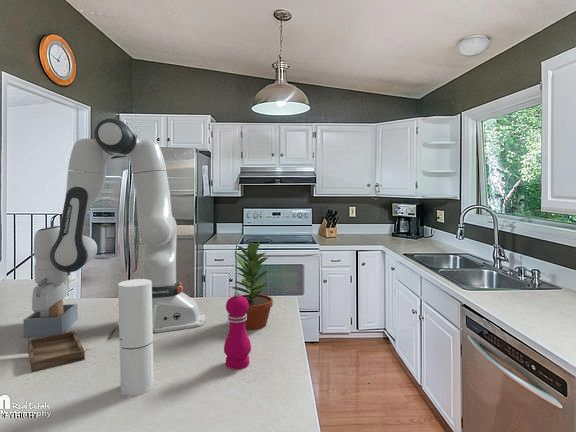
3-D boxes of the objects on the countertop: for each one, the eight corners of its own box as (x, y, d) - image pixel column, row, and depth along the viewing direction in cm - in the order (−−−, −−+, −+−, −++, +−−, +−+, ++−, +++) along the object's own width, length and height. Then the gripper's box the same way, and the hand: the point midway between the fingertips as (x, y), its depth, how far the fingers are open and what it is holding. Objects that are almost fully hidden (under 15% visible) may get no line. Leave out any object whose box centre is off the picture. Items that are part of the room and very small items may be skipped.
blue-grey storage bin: (78, 321, 130) (77, 303, 130) (62, 337, 116) (61, 317, 116) (44, 324, 128) (43, 305, 128) (24, 340, 114) (23, 319, 113)
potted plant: (262, 314, 138) (262, 235, 136) (279, 328, 125) (279, 240, 123) (223, 320, 132) (223, 237, 130) (237, 335, 118) (237, 243, 116)
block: (64, 324, 125) (63, 301, 124) (58, 329, 120) (57, 305, 120) (47, 325, 124) (46, 302, 123) (41, 330, 119) (40, 306, 118)
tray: (28, 348, 108) (27, 340, 108) (75, 338, 115) (74, 331, 115) (31, 372, 93) (31, 362, 93) (84, 359, 101) (84, 350, 101)
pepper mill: (239, 373, 93) (239, 295, 92) (218, 366, 97) (217, 291, 96) (256, 362, 100) (256, 289, 98) (235, 355, 103) (235, 285, 102)
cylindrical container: (145, 376, 91) (143, 277, 90) (158, 387, 86) (156, 282, 85) (116, 387, 86) (113, 282, 85) (127, 399, 81) (125, 288, 80)
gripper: (48, 282, 111) (50, 327, 112) (72, 269, 131) (73, 307, 132) (24, 283, 110) (26, 328, 111) (52, 269, 130) (54, 308, 131)
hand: (52, 316), depth 122 cm, fingers open, 8 cm apart
